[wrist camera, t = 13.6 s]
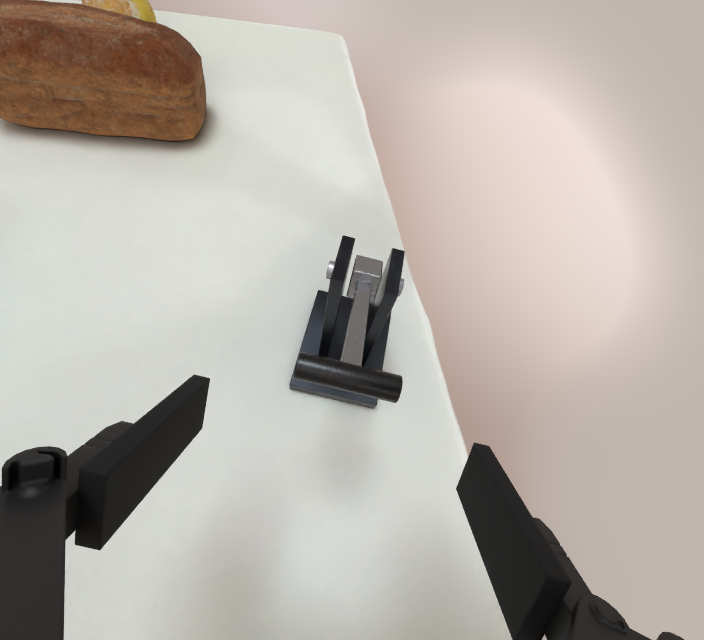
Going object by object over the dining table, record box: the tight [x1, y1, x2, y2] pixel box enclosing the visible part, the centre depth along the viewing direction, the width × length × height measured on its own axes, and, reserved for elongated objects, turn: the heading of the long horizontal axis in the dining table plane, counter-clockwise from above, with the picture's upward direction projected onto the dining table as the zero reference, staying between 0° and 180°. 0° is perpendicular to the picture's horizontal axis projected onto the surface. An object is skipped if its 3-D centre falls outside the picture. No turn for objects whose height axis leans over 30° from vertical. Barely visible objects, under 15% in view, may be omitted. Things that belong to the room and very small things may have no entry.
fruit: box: [82, 0, 157, 23], centre depth 56 cm, size 10×11×10 cm
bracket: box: [290, 236, 405, 408], centre depth 31 cm, size 12×9×15 cm
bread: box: [0, 0, 206, 141], centre depth 46 cm, size 14×28×12 cm, turn 94°
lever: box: [294, 255, 402, 403], centre depth 22 cm, size 13×6×2 cm, turn 169°
